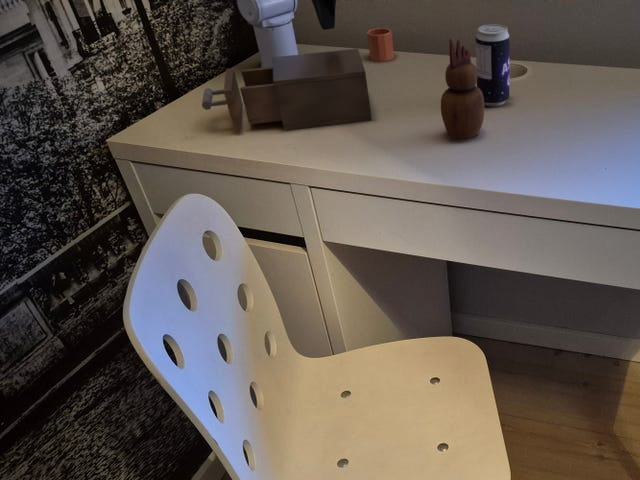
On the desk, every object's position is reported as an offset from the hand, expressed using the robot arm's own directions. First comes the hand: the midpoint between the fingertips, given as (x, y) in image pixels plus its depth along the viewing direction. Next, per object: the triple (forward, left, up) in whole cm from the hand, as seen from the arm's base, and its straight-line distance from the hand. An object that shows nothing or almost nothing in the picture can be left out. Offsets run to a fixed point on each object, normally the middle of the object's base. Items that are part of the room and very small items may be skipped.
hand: (328, 28), depth 117 cm
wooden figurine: (+27, +18, -11) cm, 34 cm away
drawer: (+11, -13, -9) cm, 20 cm away
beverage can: (+15, +26, -11) cm, 32 cm away
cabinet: (+11, -3, -10) cm, 15 cm away
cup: (-14, +10, -10) cm, 20 cm away
